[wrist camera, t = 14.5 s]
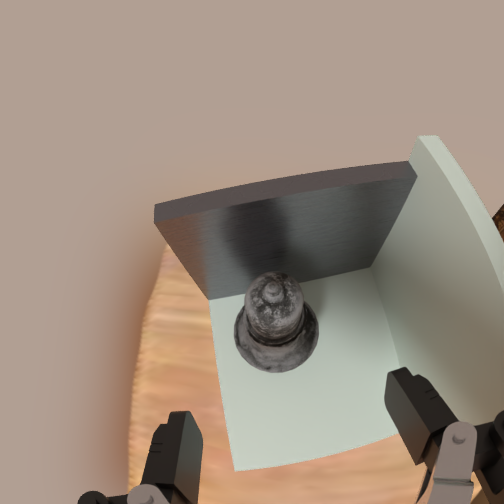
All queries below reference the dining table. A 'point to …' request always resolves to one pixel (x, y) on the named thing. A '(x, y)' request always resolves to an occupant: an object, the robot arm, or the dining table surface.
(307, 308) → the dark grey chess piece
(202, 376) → the dining table surface
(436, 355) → the shelf
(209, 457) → the dining table surface
